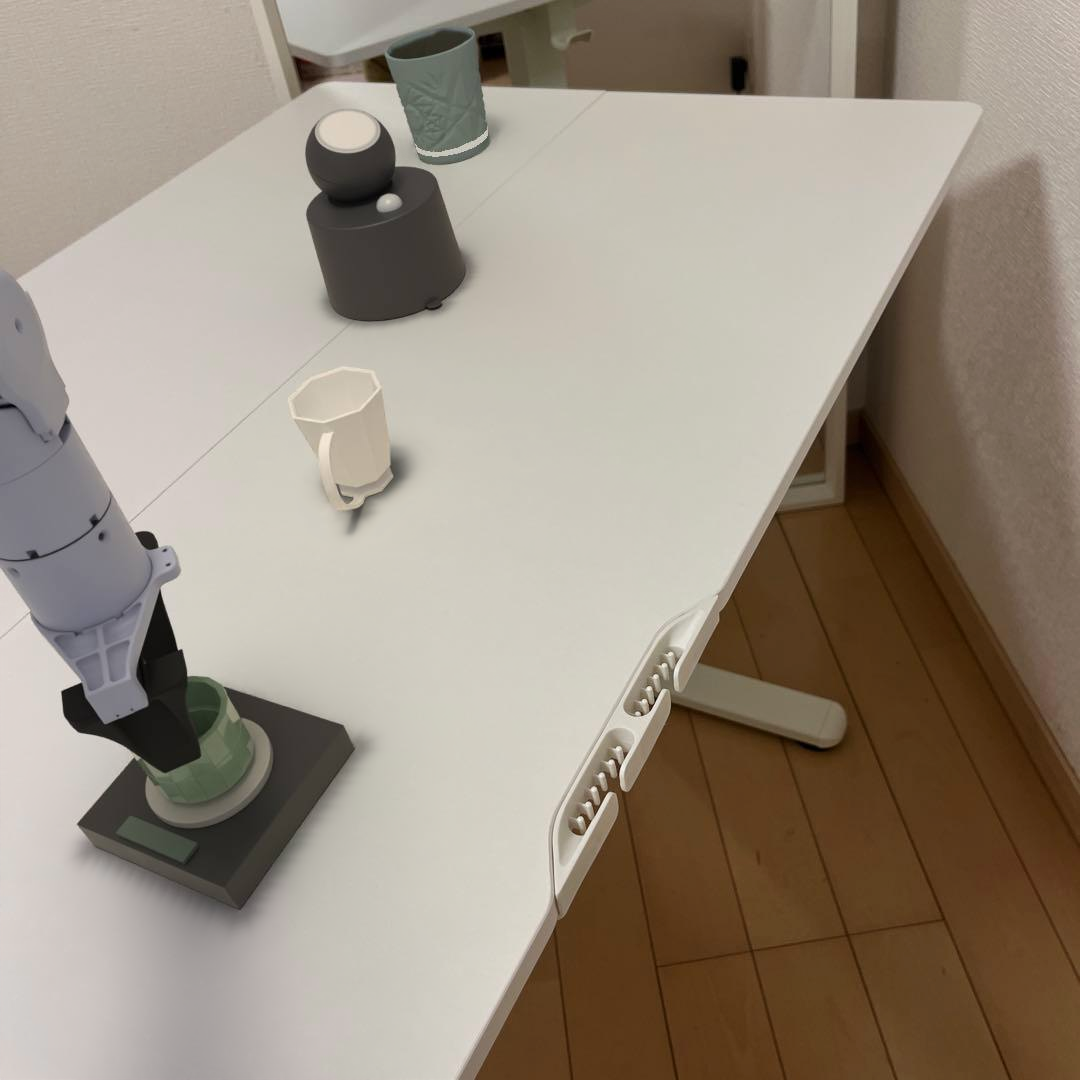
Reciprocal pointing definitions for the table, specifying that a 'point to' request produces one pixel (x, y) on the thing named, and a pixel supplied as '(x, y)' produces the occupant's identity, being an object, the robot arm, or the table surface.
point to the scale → (225, 806)
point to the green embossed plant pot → (440, 90)
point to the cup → (345, 432)
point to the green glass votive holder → (207, 747)
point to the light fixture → (377, 222)
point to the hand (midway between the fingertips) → (170, 709)
